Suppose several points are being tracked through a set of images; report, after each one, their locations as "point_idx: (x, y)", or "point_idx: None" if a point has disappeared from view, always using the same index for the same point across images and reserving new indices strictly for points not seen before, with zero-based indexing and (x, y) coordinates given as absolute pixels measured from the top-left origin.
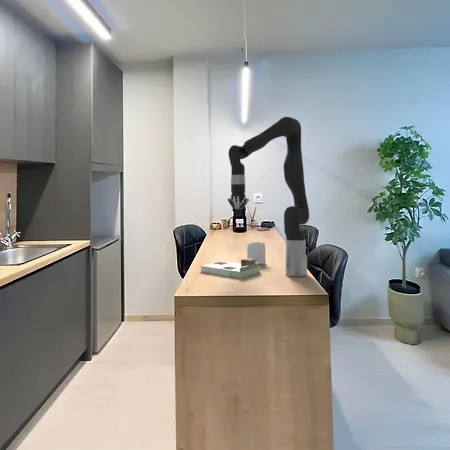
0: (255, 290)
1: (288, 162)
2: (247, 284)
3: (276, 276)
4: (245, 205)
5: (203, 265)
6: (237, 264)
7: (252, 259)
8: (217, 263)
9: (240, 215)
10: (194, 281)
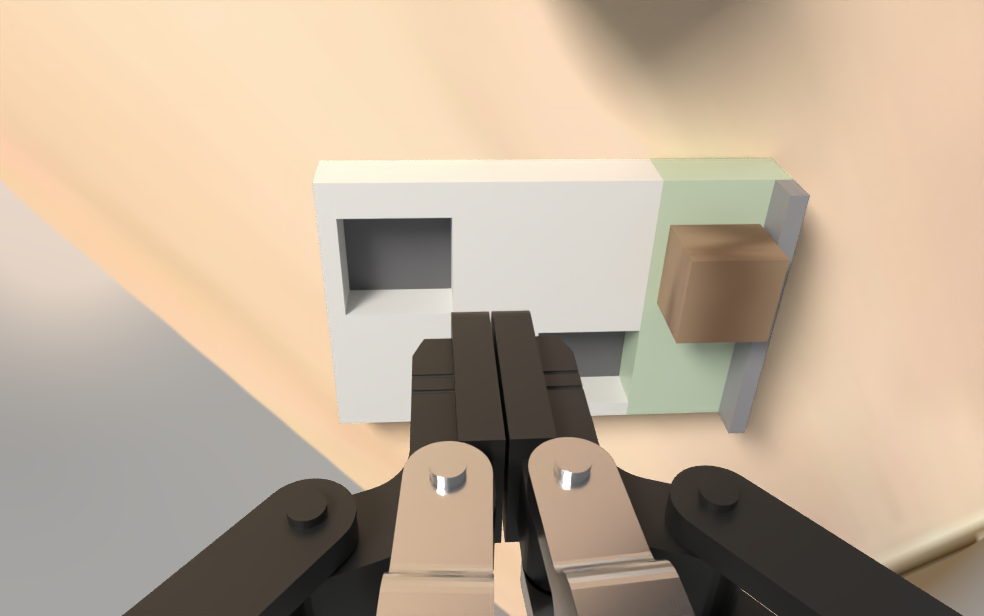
0: (888, 513)
1: None
2: (809, 459)
3: (941, 206)
4: (836, 546)
5: (345, 405)
6: (567, 227)
7: (776, 292)
8: (340, 244)
9: (528, 315)
10: (501, 556)
